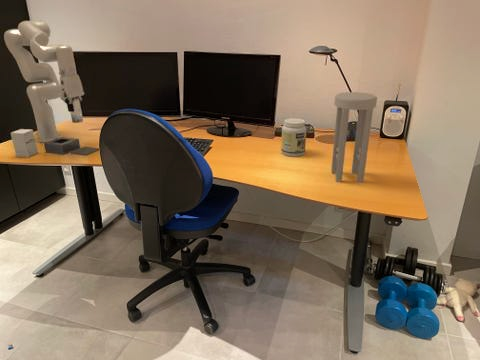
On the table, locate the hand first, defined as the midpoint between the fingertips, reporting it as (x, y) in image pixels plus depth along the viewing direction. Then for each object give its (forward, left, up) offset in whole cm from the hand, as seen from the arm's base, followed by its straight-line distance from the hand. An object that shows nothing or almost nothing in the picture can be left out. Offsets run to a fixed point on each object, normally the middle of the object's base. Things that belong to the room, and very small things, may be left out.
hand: (75, 109), depth 187 cm
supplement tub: (+104, +33, -22) cm, 112 cm away
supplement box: (-24, -14, -22) cm, 35 cm away
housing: (-12, -2, -22) cm, 25 cm away
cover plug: (0, 0, -6) cm, 6 cm away
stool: (+133, +11, -22) cm, 135 cm away
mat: (+1, 0, -22) cm, 22 cm away
